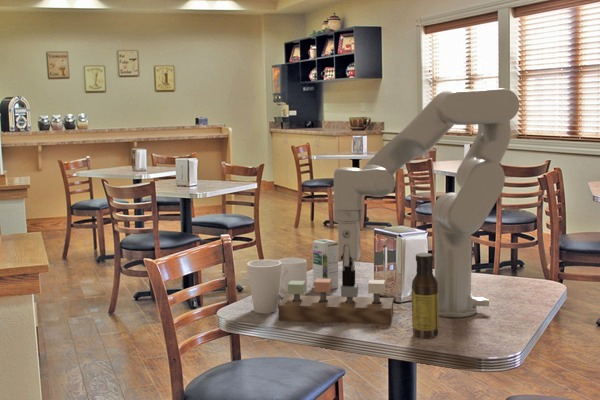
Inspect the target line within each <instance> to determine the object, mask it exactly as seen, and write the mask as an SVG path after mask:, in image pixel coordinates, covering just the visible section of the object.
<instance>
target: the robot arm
mask: <svg viewBox="0 0 600 400" xmlns="http://www.w3.org/2000/svg"><path fill="white" fill-rule="evenodd" d="M519 109H520V101H519V97H518V96H517V94H516V93H515V92H514V91H512V90H511V89H508V88H505V87H498V88H497V87H495V88H485V89H476V90H475V89H474V90H473V89H472V90H471V89H469V90H467V89H465V90H445V91H444V90H443V91H442V92H439V93H438V94H437V95H436V96H434V97H433V98H432V99H431V101H429V103H427V105H425V107H424V108H423V109H422V110H421V111H420V112H419V113H418V114H417V115H416V116H415V117H414V119H412V120H411V121H410V122H409V123H408V124H407V126H405V127H404V128H403V130H401V131H400V132H399V133H397V134H396V135H395V136H394V137H393V138H392V139H391V140H390V141H388V142H387V143H386V144H384V145H383V146H382V147H381V148H380V149H379V150H378V151H377V152H376V153H375V154H374V155H373V156H372V157H371V158H370V159H369V160H368V162H367V163H365V165H363V166H362V168H358V167H354V166H353V167H352V166H351V167H349V166H348V167H338V168H336V169H335V170H334V172H333V222H334V223H337V224H338V225H337V227H338V228H337V229H338V230H337V232H338V233H337V235H338V236H337V241H338V261H340V262H342V270H341V272H342V273H341V274H342V275H341V276H342V277H341V278H342V279H341V281H342V285H343V286H354V285H355V283H356V269H355V267H356V266H355V264H356V262H358V261H359V259H360V257H361V254H362V252H361V251H362V250H361V249H362V248H361V224H360V223H363V222H364V196H369V197H377V198H380V197H382V198H383V197H386V196H389V195H390V194H391V193H392V192H393V191H394V190H395V187H396V177H395V174H396V173H397V172H398V171H399V170H400V169H401V168H402V167H403V166H405V165H406V164H407V163H409V162H411V161H413V160H415V159H418V158H420V157H422V156H424V155H425V154H428V153H429V152H430V151H431V150H432V148H433V147H434V146H436V144H437V143H438V142H439V141H441V139H442V138H443V137H444V136H445V135H446V134H447V133H448V132H449V131H450V130H451V129H452V128H453V127H454V125H455V126H462V125H463V126H470V125H471V126H474V125H477V132H476V136H475V137H474V140H473V142H472V143H471V146H470V148H469V149H468V151H467V152H466V154H465V156H464V158H463V160H462V161H461V163H460V165H459V166H458V168H457V170H456V174H455V179H456V183H457V185H458V187H459V188H460V190H459V191H458V192H445V193H444V194H442V195H440V196H439V197H438V198H437V199H436V200H435V202H434V205H433V207H432V225H433V232H434V234H433V235H434V277H435V278H436V280H437V283H438V314H439V317H444V318H466V317H472V316H473V315H476V314H477V312H478V309H477V307H478V306H479V307H489V306H490V299H487V298H484V297H475V296H473V292H472V253H473V252H472V251H473V250H472V249H473V248H472V247H473V246H472V244H473V243H472V235H473V234H475V233H476V232H477V231H478V230H480V229H481V227H482V226H483V224H484V223H485V221H486V219H487V218H488V216H489V214H490V213H491V212H492V210H493V208H494V206H495V204H496V202H497V201H498V199H499V197H500V195H501V194H502V191H503V189H504V185H505V182H506V177H505V175H506V174H505V172H504V168H503V167H502V166H501V164H500V163H501V162H502V159H503V157H504V156H505V154H506V152H507V150H508V148H509V145H510V142H511V137H512V136H511V135H512V134H511V131H512V129H511V124H510V121H511V120H513V119H514V118H515V117H516V116H517V114H518V113H519ZM342 285H341V286H342Z"/></svg>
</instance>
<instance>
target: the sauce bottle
mask: <svg viewBox="0 0 600 400" xmlns="http://www.w3.org/2000/svg"><path fill="white" fill-rule="evenodd" d="M433 261H434V254H432V253H431V252H430V253H428V252H419V253H416V254H415V263H416V270H415V271H416V274H415V276H414V278H413V279H412V281H411V282H412V283H411V316H412V317H411V318H412V320H411V321H412V322H411V325H412V334H413V335H414V336H415V337H416V338H419V339H429V340H431V339H433V338H437V336H438V335H439V327H440V324H439V321H440V320H439V319H440V316H439V314H438V283H437V280H436V278H435V274H434V272H433V271H434V269H433Z"/></svg>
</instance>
